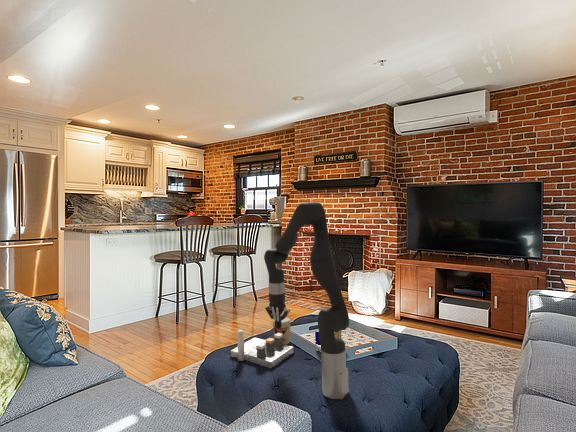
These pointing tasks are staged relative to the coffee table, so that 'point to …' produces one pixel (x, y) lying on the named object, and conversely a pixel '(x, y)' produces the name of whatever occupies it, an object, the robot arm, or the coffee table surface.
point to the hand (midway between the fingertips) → (278, 328)
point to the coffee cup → (283, 330)
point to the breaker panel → (271, 357)
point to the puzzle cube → (337, 334)
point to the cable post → (240, 345)
